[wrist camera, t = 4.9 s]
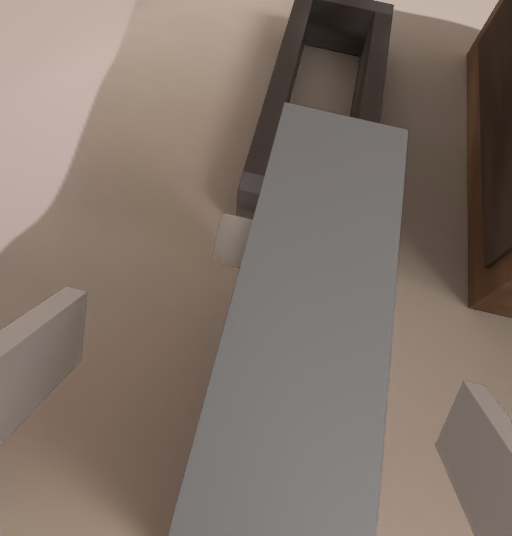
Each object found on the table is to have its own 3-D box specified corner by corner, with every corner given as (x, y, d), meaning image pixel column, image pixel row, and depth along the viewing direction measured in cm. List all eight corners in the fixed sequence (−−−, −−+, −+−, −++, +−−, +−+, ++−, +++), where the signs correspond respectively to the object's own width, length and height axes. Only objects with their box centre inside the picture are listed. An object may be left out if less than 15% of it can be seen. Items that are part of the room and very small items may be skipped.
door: (302, 320, 22) (408, 130, 10) (253, 592, 17) (346, 920, 5) (226, 302, 23) (235, 91, 10) (153, 566, 17) (-20, 820, 5)
